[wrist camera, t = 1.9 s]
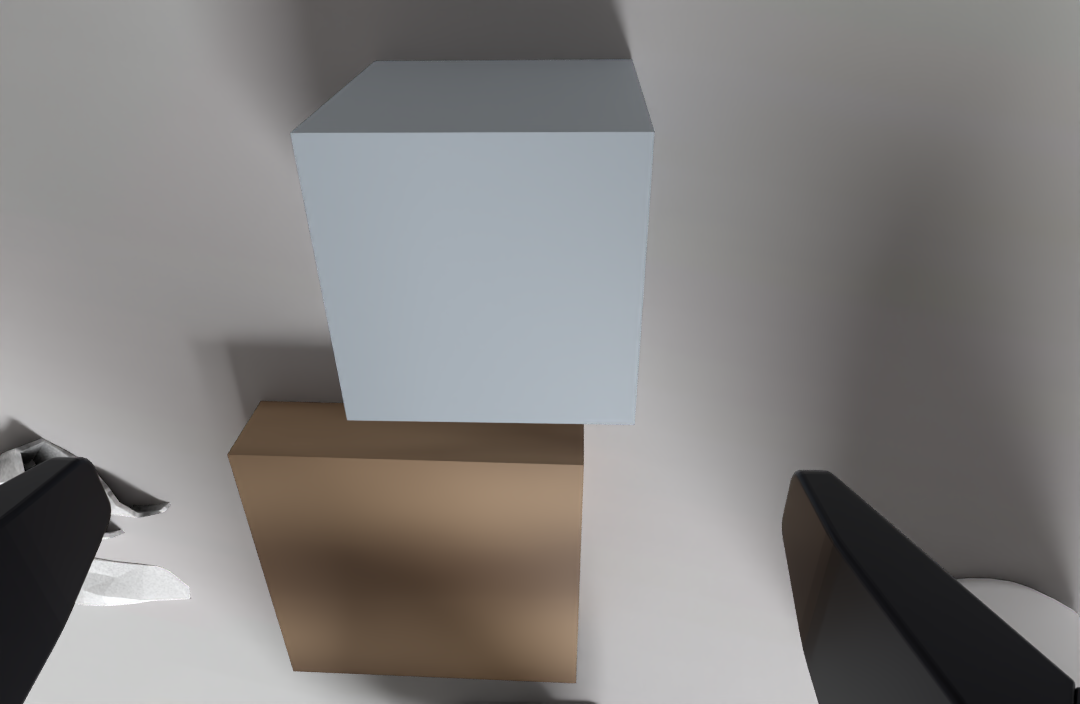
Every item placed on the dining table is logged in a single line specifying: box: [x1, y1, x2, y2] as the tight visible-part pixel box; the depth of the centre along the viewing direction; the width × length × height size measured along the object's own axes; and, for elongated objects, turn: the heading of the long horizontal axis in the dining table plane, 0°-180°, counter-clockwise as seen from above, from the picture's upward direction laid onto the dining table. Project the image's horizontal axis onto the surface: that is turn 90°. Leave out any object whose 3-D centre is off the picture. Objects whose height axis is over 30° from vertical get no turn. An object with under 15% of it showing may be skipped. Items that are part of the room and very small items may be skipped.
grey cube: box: [290, 59, 655, 425], centre depth 16 cm, size 6×6×6 cm
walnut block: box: [227, 401, 584, 683], centre depth 24 cm, size 10×10×3 cm
